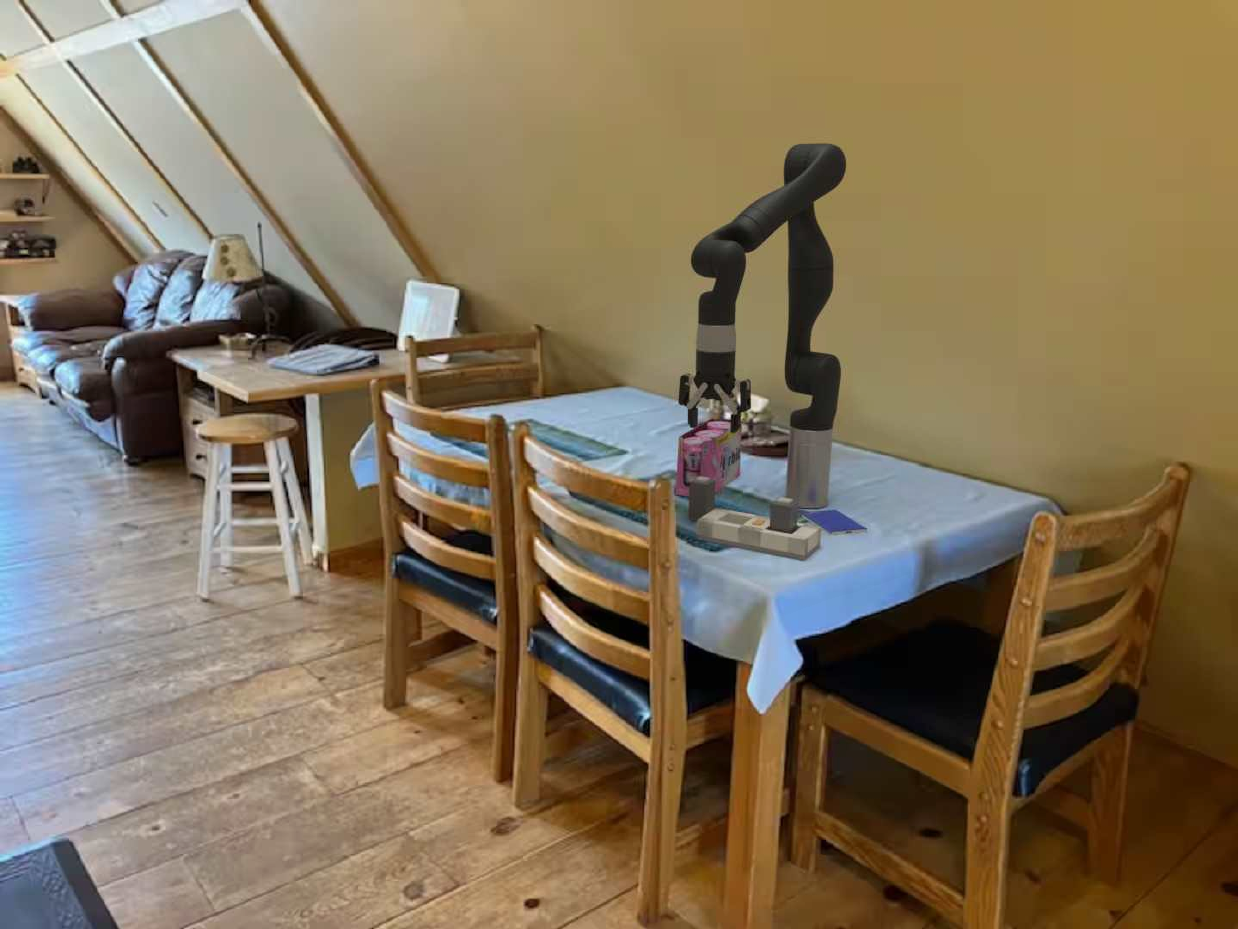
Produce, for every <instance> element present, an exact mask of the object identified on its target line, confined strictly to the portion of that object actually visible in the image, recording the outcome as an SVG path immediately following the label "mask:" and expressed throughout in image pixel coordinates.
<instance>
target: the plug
mask: <svg viewBox="0 0 1238 929" xmlns="http://www.w3.org/2000/svg"><path fill="white" fill-rule="evenodd" d="M715 498H716V493H715V480H710V478H707V477H701V476H699V477H698V478H696V479H694V480H693V481H691V482H690V484H689V497H688V515H687V516H688V518H687V519H688V520H691V521H696V522H697V520H698V519H699V518H701V517H703V516H704V515H706V514H708V513H709V512H711V511H712V510H714V509H715V504H716V503H715V501H716V499H715Z"/></svg>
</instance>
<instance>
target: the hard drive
mask: <svg viewBox="0 0 1238 929" xmlns="http://www.w3.org/2000/svg"><path fill="white" fill-rule="evenodd" d="M801 518H803V519H805V521H807V522H809V523H810V524H811V525H814V526H820V527H821V531H822V532H824V533H825V534H827V535H829V536H830V535H834V536H839V535H838V534H844V535H852V534H853V535H854V533H855V534H862V533H861V532H866V533H867V532H868V528H867V527H865V526H863V525H862V524H860V523H859V522H858V521H857V522H856V520H854V519H853V518H851V517H849V516H847V515H845V514H844V513H842V512H840V511H839V510H837V509H826V510H816V511H805V512H802V515H801Z"/></svg>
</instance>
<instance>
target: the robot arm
mask: <svg viewBox="0 0 1238 929" xmlns="http://www.w3.org/2000/svg"><path fill="white" fill-rule="evenodd" d="M846 170H847V158H846V155H845V153H844V151H843V150H842V149H841V148H840V147H839V146H838V145H836V144H833V143H826V142H825V143H823V142H819V143H817V142H815V143H797V144H794V145H792V147H791V148H790V147H789V149H788V151H787V153H786V155H785V159H784V162H783V186H781V187H779V188H776V189H775V190H772V191H771V192H769V193H767V194H765V195H762V196H761V197H760V198H758V199H756V200H754V201H753V202H752V203H750V204H749V205H748V206H747V207H746V208H745V209H744V210H742V211H741V212H740V213H739V214H738V215H737V216H735V218H734V219H733V220H732V221H730V222H728V223H727V224H725V225H723V226H721V227H719V228H718V229H716V230H714V231H713V232H712V231H711V233H708V234H707V235H706V236H704V237H703V238H702V239H701V240H699V241H698V243H697V244H696V245H695V246H694V247H693V250H692V252H691V256H690V264H691V268H692V270H693V271H694V273H696V274H697V275H698V276H700V277H703V278H709V279H715V281H714V285H713V287H712V290H709V291H705V292H703V293H701V294H700V296H699V297H698V305H697V306H698V309H697V311H698V312H697V313H698V314H697V318H698V320H697V328H696V339H695V375H693V374H692V375H691V373H684V374H682V375H680V378H679V388H678V389H679V390H678V391H679V392H678V405H680V406H684V407H686V409H687V424H688V426H689V428H691V429H694V428H695V427H697V426H699V425H698V423H699V408H698V407H697V406H698V405H699V404H700V403H701V402H702V400H703V399H705V400H713V401H715V402H716V401H717V402H718V401H719V402H720V401H722V402H723V404H724V405H725V406H727V407H728V409H729V411H730V412H731V414H730V420H731V424H730V432H731V433H736V432H737V431H738V430H739V429H740V427H741V421H742V413H746V412H747V411H748V412H749V410H751V408H752V390H751V389H752V388H751V387H752V386H751V380H750V379H747V378H746V379H744V380H738V379H736V377H735V373H736V352H737V351H736V350H737V349H736V348H737V332H736V331H737V330H736V311H737V310H736V308H737V306H736V304H737V303H736V302H737V299H738V296H739V294H740V293H739V292H740V290H741V288H742V283H743V280H744V276H745V272H746V268H747V267H746V266H747V257H746V254H749V253H752V252H754V251H755V250H757V249H758V248H760V246H761V245H762V244H764V242H765V241H767V239H769V238H770V237H771V236H772V235H773V234H774V233H775V232H776V231H778V229H779V228H780V227H782V226H783V225H784V224H786V222H787V242H788V243H787V245H788V246H787V248H788V250H787V252H788V253H787V254H788V256H787V258H788V259H787V290H788V291H787V292H788V295H787V296H788V310H787V311H788V313H787V314H788V317H787V318H788V319H787V338H786V347H785V357H784V358H785V359H784V381H785V385H786V387H787V389H788V390H789V391H791V392H792V393H796V394H801V395H807V396H811V401H810V405H809V406H808V407H805V408H800V409H796V410H794V411H792V412H791V413H790V417H789V429H788V430H789V431H788V432H789V433H788V445H787V446H788V450H787V462H786V463H787V465H786V482H785V494H784V495H785V497H784V498H789V499H793V501H797V502H799V503H798V508H802V509H820V508H824V507H826V506H827V505H828V504H829V503H828V500H829V490H830V489H829V488H830V478H831V477H830V476H831V475H830V474H831V463H832V462H831V461H832V449H833V433H834V422H835V418H836V415H837V410H838V402H839V394H840V387H841V378H842V367H841V362H840V360H839V358H838V357H837V356H836V355H835V354H831V353H827V352H818V351H812V350H811V338H812V332H813V328H814V325H815V323H816V321H817V319H818V318H819V316H820V314H821V312H822V311H823V309H824V308H825V306H826V305H827V303H828V301H829V299H830V298H831V296H832V292H833V289H834V268H835V267H834V266H835V264H834V255H833V252H832V249H831V247H830V244H829V243H828V240H827V238H826V237H825V235H824V233H823V230H822V229H821V227H820V224H819V223H818V219H817V216H816V211H815V202H816V201H817V200H819V199H820V198H822V197H824V196H826V195H827V194H829V193H830V192H832V191H834V189H836V188H837V187H838V186H839V185H840V184H841V182H842V181H843V179H844V176H845V173H846V172H847V171H846ZM693 383H694V384H693ZM692 385H695V386H696V387H695V388H696V389H697V390H696V391H695V393H694V394H693V395H692V397H691V399H690V393H691V386H692ZM735 387H736V388H737V391H738V392H739V397H740V398H739V399H740V400H739V401H738V397H737V395H735V392H734V389H735Z"/></svg>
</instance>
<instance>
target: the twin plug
mask: <svg viewBox="0 0 1238 929" xmlns="http://www.w3.org/2000/svg"><path fill="white" fill-rule="evenodd" d="M798 503H799V502H797V501H793V499H789V498H785V497H779V498H777V499H776V500H774V501H773V502H772V503H770V512H769V513H770V514H769V516H770V529H769V530H772V531H777V532H782V533H788V534H793V533H794V532H795V531H796V530H797V522H798V515H799V507H798Z"/></svg>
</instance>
